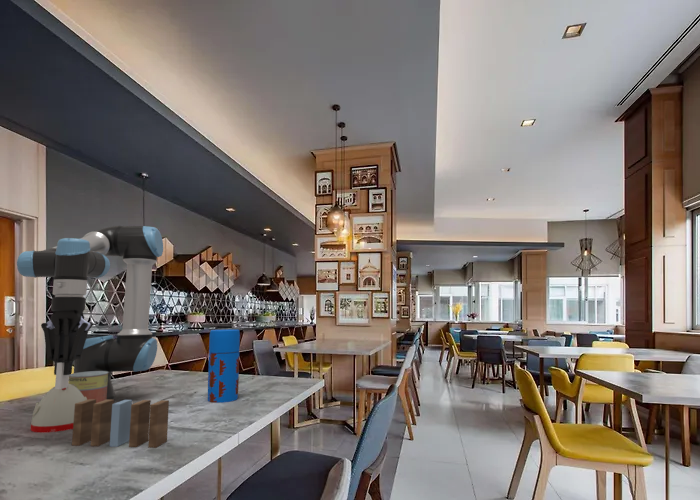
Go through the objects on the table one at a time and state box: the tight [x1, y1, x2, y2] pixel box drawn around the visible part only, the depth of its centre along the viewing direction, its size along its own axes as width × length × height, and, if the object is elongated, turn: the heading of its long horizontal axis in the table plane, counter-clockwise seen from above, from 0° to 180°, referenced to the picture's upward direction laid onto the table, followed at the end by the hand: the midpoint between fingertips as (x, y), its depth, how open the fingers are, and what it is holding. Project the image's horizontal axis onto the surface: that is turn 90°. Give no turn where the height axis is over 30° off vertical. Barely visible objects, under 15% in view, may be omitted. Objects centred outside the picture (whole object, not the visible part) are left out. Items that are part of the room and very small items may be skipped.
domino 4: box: [128, 399, 152, 448], centre depth 105 cm, size 2×5×10 cm, turn 174°
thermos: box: [207, 329, 241, 404], centre depth 155 cm, size 11×11×25 cm
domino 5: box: [147, 399, 170, 449], centre depth 105 cm, size 2×5×10 cm, turn 174°
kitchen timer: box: [30, 384, 87, 434], centre depth 123 cm, size 14×14×15 cm
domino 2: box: [90, 400, 115, 447], centre depth 106 cm, size 2×5×10 cm, turn 174°
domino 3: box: [109, 399, 133, 448], centre depth 106 cm, size 2×5×10 cm, turn 175°
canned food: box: [69, 371, 109, 403], centre depth 139 cm, size 11×11×12 cm
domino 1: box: [71, 399, 96, 447], centre depth 107 cm, size 2×5×10 cm, turn 175°
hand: (61, 388), depth 108 cm, fingers closed
